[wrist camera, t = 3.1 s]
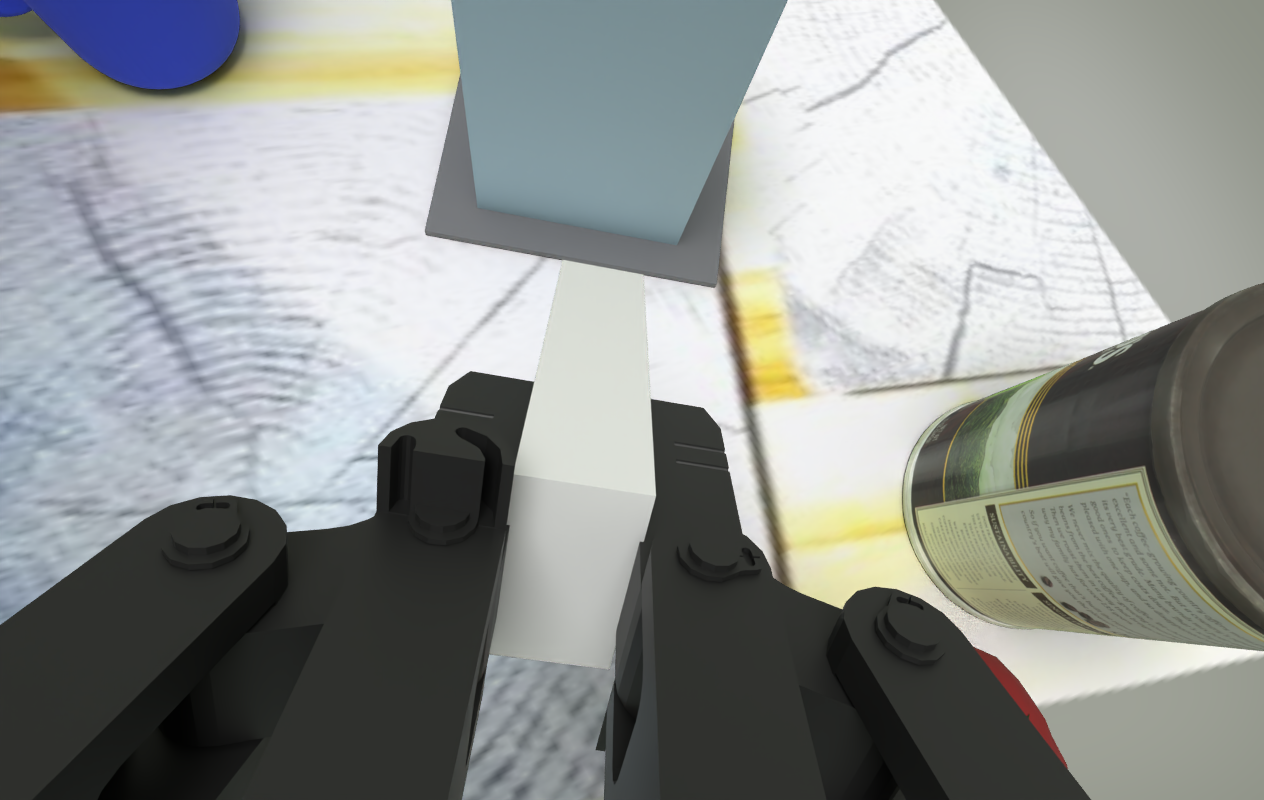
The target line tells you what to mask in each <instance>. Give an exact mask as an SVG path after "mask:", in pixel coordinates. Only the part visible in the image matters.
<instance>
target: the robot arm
mask: <svg viewBox="0 0 1264 800" xmlns="http://www.w3.org/2000/svg"><path fill="white" fill-rule="evenodd" d="M724 451H725V448H724V443H723V438H722V433H721V429H720V427H719V426H718V425H717V424H716V422H715V421H714V420H713V419H712V418H711V416H710V415H709V414H708V413H707V412H706V410H705V409H704V408H701V407H695V406H689V405H683V404H677V403H671V402H665V401H659V400H653V399H651V398H650V380H649V362H648V344H647V326H646V308H645V290H644V275H642V274H637V273H631V272H626V271H621V270H615V269H610V268H605V267H599V266H594V265H589V264H583V263H578V262H572V261H567V260H562V264H561V269H560V273H559V277H558V282H557V286H556V290H555V295H554V299H553V303H552V308H551V312H550V316H549V321H548V325H547V329H546V334H545V338H544V342H543V347H542V351H541V355H540V360H539V364H538V368H537V372H536V377H535V381H534V382H532V381H526V380H520V379H514V378H508V377H502V376H496V375H490V374H484V373H478V372H472V371H470V372H469V373H467V374H466V375H464V376H463V377H461V378H460V379H458V380H457V381H455V382H454V383H452V384H451V385H450V386H449V387H448V389H447V391H446V394H445V396H444V398H443V400H442V403H441V405H440V409H439V410H438V412H437V414H436V416H435V419H430V420H424V421H418V422H412V423H409V424H407V425H405V426H402V427H400V428H398V429H396V430H394V431H391V432H390V433H389V434H388V435H387V436H386V437H385V438H384V440H383V441H382V442H381V443H380V444H379V445H378V475H377V511H376V514H375V516H374V517H372V518H370V519H368V520H365V521H362V522H359V523H356V524H353V525H350V526H344V527H337V528H331V529H321V530H308V531H296V532H287V527H286V524H285V523H284V521H283V520H282V518H281V517H280V515H279V514H278V512H277V511H276V510H274V509H273V508H271V507H269V506H267V505H265V504H263V503H261V502H259V501H257V500H254V499H248V498H242V497H236V496H231V495H229V496H213V497H199V498H196V499H192V500H188V501H185V502H181V503H178V504H174V505H170V506H168V507H167V508H165V509H163V510H161V511H159V512H157V513H156V514H154V515H152V516H150V517H148V518H146V519H144V520H143V521H142V522H140V523H139V524H138V525H136V526H135V527H133V528H132V529H131V530H129V531H128V532H127V533H125V534H124V535H123V536H121V537H120V538H118V539H117V540H116V541H114V542H113V543H112V544H110V545H109V546H108V547H106V548H105V549H103V550H102V551H101V552H99V553H98V554H97V555H95V556H94V557H93V558H91V559H90V560H88V561H87V562H86V563H84V564H83V565H82V566H80V567H79V568H78V569H76V570H75V571H73V572H72V573H71V574H69V575H68V576H67V577H65V578H64V579H62V580H61V581H60V582H58V583H57V584H56V585H54V586H53V587H52V588H50V589H49V590H47V591H46V592H45V593H43V594H42V595H41V596H39V597H38V598H37V599H35V600H34V601H32V602H31V603H30V604H28V605H27V606H26V607H24V608H23V609H22V610H20V611H19V612H17V613H16V614H15V615H13V616H12V617H11V618H9V619H8V620H7V621H5V622H4V623H2V624H1V625H0V800H462V796H463V791H464V786H465V781H466V776H467V771H468V765H469V760H470V755H471V750H472V745H473V740H474V735H475V730H476V725H477V720H478V715H479V710H480V705H481V700H482V695H483V688H484V681H485V674H486V667H487V662H488V657H489V654H491V655H499V656H506V657H514V658H522V659H530V660H538V661H545V662H553V663H561V664H569V665H576V666H584V667H592V668H600V669H608V670H610V666H611V662H612V658H613V655H614V651H615V647H616V662H615V681H614V685H613V688H612V692H611V695H610V699H609V703H608V706H607V710H606V713H605V717H604V721H603V724H602V728H601V732H600V735H599V739H598V743H597V747H596V750H600V751H605V749H606V753H605V786H604V800H1091V799H1090V798H1089V797H1088V795H1087V794H1086V793H1085V791H1084V790H1083V789H1082V787H1081V786H1080V785H1079V784H1078V782H1077V781H1076V780H1075V778H1074V777H1073V776H1072V774H1071V773H1070V772H1069V771H1068V769H1067V768H1066V767H1065V765H1064V764H1063V763H1062V761H1061V760H1060V759H1059V758H1058V756H1057V755H1056V754H1055V752H1054V751H1053V750H1052V749H1051V747H1050V746H1049V745H1048V743H1047V742H1046V741H1045V739H1044V738H1043V737H1042V736H1041V734H1040V733H1039V732H1038V730H1037V729H1036V728H1035V726H1034V725H1033V724H1032V723H1031V721H1030V720H1029V719H1028V717H1027V716H1026V715H1025V714H1024V712H1023V711H1022V710H1021V708H1020V707H1019V706H1018V704H1017V703H1016V702H1015V701H1014V699H1013V698H1012V697H1011V695H1010V694H1009V693H1008V691H1007V690H1006V689H1005V688H1004V686H1003V685H1002V684H1001V682H1000V681H999V680H998V679H997V677H996V676H995V675H994V673H993V672H992V671H991V669H990V668H989V667H988V666H987V664H986V663H985V662H984V660H983V659H982V658H981V656H980V655H979V654H978V653H977V651H976V650H975V649H974V647H973V646H972V645H971V644H970V642H969V641H968V640H967V638H966V637H965V636H964V634H963V633H962V632H961V631H960V630H959V629H958V628H957V627H956V626H955V625H954V624H953V623H952V622H951V621H950V620H949V619H948V618H947V617H946V616H945V615H944V614H943V613H942V612H941V611H939V610H937V609H936V608H934V607H933V606H931V605H930V604H928V603H927V602H925V601H924V600H922V599H921V598H918V597H915V596H913V595H910V594H907V593H905V592H902V591H900V590H897V589H889V588H880V587H872V588H868V589H864V590H860V591H857V592H856V593H855V594H854V595H853V596H852V597H851V598H850V599H849V600H848V601H847V602H846V603H845V605H844V607H843V610H842V609H839V608H837V607H834V606H832V605H829V604H827V603H824V602H822V601H819V600H816V599H814V598H811V597H809V596H806V595H804V594H801V593H799V592H797V591H795V590H793V589H791V588H789V587H787V586H785V585H783V584H782V583H780V582H779V581H777V580H776V579H774V578H773V576H772V571H771V568H770V566H769V564H768V562H767V560H766V558H765V556H764V554H763V552H762V551H761V550H760V549H759V548H758V547H757V546H756V545H755V544H754V543H753V542H752V541H751V540H750V539H749V538H748V537H747V536H745V535H743V534H742V529H741V525H740V520H739V515H738V510H737V505H736V501H735V496H734V491H733V486H732V481H731V477H730V472H728V468H729V467H728V462H727V457H726V454H724Z"/></svg>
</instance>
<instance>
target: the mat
mask: <svg viewBox="0 0 1264 800" xmlns="http://www.w3.org/2000/svg"><path fill="white" fill-rule="evenodd" d="M733 127H734V120H733V122H732V125H731V127H730V129H729V131H728V133H727V136H726V138H725V140H724V142H723V144H722V147H721V149H720V151H719V153H718V156H717V158H716V160H715V162H714V164H713V167H712V169H711V171H710V173H709V175H708V178H707V180H706V182H705V184H704V186H703V189H702V191H701V193H700V195H699V198H698V200H697V202H696V204H695V206H694V209H693V211H692V213H691V215H690V217H689V220H688V222H687V224H686V226H685V228H684V231H683V233H682V235H681V237H680V240H679V242H678V244H677V245H672V244H667V243H662V242H656V241H651V240H646V239H640V238H635V237H630V236H624V235H619V234H614V233H608V232H603V231H598V230H592V229H587V228H582V227H576V226H571V225H566V224H560V223H555V222H550V221H544V220H539V219H534V218H528V217H523V216H518V215H513V214H507V213H502V212H497V211H491V210H486V209H481V208H477V200H476V192H475V184H474V176H473V168H472V160H471V152H470V144H469V136H468V128H467V121H466V113H465V105H464V97H463V89H462V81H461V73H460V78H459V82H458V87H457V91H456V96H455V100H454V104H453V109H452V113H451V118H450V122H449V126H448V131H447V135H446V140H445V144H444V148H443V153H442V157H441V162H440V166H439V171H438V175H437V179H436V184H435V188H434V193H433V197H432V201H431V206H430V210H429V215H428V219H427V223H426V228H425V233H426V235H429V236H435V237H440V238H446V239H451V240H457V241H462V242H468V243H473V244H479V245H484V246H490V247H495V248H501V249H506V250H512V251H517V252H523V253H528V254H534V255H539V256H545V257H550V258H555V259H561V260H567V261H572V262H578V263H583V264H589V265H594V266H599V267H605V268H610V269H616V270H621V271H627V272H632V273H638V274H643V275H649V276H654V277H660V278H665V279H671V280H676V281H682V282H687V283H692V284H698V285H703V286H709V287H715V286H716V284H717V276H718V266H719V257H720V248H721V239H722V229H723V220H724V211H725V201H726V192H727V183H728V173H729V164H730V155H731V145H732V136H733Z"/></svg>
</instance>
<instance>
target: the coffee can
mask: <svg viewBox="0 0 1264 800" xmlns="http://www.w3.org/2000/svg"><path fill="white" fill-rule="evenodd" d="M903 513H904V520H905V524H906V528H907V532H908V535H909V538H910V541H911V544H912V546H913V549H914V551H915V553H916V555H917V557H918V559H919V561H920V563H921V564H922V566H923V568H924V570H925V571H926V573H927V574H928V575H929V577H930V578H931V579H932V581H933V582H934V583H935V584H936V586H937V587H938V588H939V589H940V590H941V591H942V592H943V593H944V595H945V596H946V597H947V598H949V599H950V600H951V601H952V602H954V603H955V604H956V605H958V606H959V607H961V608H962V609H964V610H965V611H967V612H968V613H970V614H972V615H973V616H975V617H977V618H980V619H982V620H984V621H986V622H988V623H991V624H995V625H999V626H1003V627H1008V628H1016V629H1036V628H1037V629H1047V630H1057V631H1067V632H1077V633H1087V634H1097V635H1108V636H1118V637H1128V638H1138V639H1147V640H1158V641H1168V642H1178V643H1187V644H1197V645H1207V646H1217V647H1227V648H1237V649H1247V650H1257V651H1264V283H1262V284H1258V285H1255V286H1253V287H1250V288H1247V289H1244V290H1242V291H1239V292H1237V293H1234V294H1232V295H1230V296H1228V297H1225V298H1223V299H1222V300H1220V301H1218V302H1216V303H1214V304H1213V305H1211V306H1210V307H1208V308H1206V309H1205V310H1203V311H1200V312H1197V313H1195V314H1192V315H1191V316H1188V317H1185V318H1183V319H1180V320H1178V321H1175V322H1172V323H1170V324H1168V325H1165V326H1163V327H1160V328H1158V329H1156V330H1153V331H1150V332H1147V333H1145V334H1143V335H1141V336H1138V337H1135V338H1132V339H1130V340H1128V341H1125V342H1123V343H1120V344H1118V345H1115V346H1113V347H1110V348H1108V349H1105V350H1103V351H1100V352H1098V353H1096V354H1093V355H1091V356H1088V357H1086V358H1083V359H1081V360H1079V361H1076V362H1074V363H1071V364H1069V365H1066V366H1064V367H1061V368H1059V369H1056V370H1054V371H1051V372H1049V373H1047V374H1044V375H1042V376H1039V377H1036V378H1034V379H1031V380H1029V381H1026V382H1024V383H1021V384H1019V385H1016V386H1014V387H1011V388H1009V389H1006V390H1004V391H1000V392H998V393H996V394H993V395H991V396H988V397H986V398H983V399H980V400H978V401H973V402H969V403H966V404H963V405H961V406H958V407H956V408H954V409H952V410H950V411H949V412H947V413H945V414H944V415H942V416H941V417H940V418H938V419H937V420H936V421H935V422H933V423H932V424H931V425H930V426H929V428H928V429H926V430H925V432H924V433H923V434H922V436H921V437H920V439H919V441H918V442H917V444H916V446H915V447H914V449H913V451H912V454H911V456H910V459H909V462H908V465H907V469H906V472H905V477H904V485H903Z"/></svg>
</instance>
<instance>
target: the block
mask: <svg viewBox="0 0 1264 800" xmlns="http://www.w3.org/2000/svg"><path fill="white" fill-rule="evenodd" d="M787 1H788V0H451V2H452V10H453V18H454V26H455V34H456V41H457V49H458V57H459V65H460V73H461V81H462V89H463V97H464V105H465V113H466V121H467V128H468V136H469V144H470V152H471V160H472V168H473V176H474V184H475V192H476V200H477V208H481V209H486V210H491V211H497V212H502V213H507V214H513V215H518V216H523V217H528V218H534V219H539V220H544V221H550V222H555V223H560V224H566V225H571V226H576V227H582V228H587V229H592V230H598V231H603V232H608V233H614V234H619V235H624V236H630V237H635V238H640V239H646V240H651V241H656V242H662V243H667V244H672V245H677V244H678V242H679V240H680V237H681V235H682V233H683V231H684V228H685V226H686V224H687V222H688V220H689V217H690V215H691V213H692V211H693V209H694V206H695V204H696V202H697V200H698V198H699V195H700V193H701V191H702V189H703V186H704V184H705V182H706V180H707V178H708V175H709V173H710V171H711V169H712V167H713V164H714V162H715V160H716V158H717V156H718V153H719V151H720V149H721V147H722V144H723V142H724V140H725V138H726V136H727V133H728V131H729V129H730V127H731V125H732V122H733V120H734V118H735V116H736V114H737V111H738V109H739V107H740V105H741V102H742V100H743V98H744V96H745V94H746V91H747V89H748V87H749V85H750V83H751V80H752V78H753V76H754V74H755V72H756V69H757V67H758V65H759V63H760V60H761V58H762V56H763V54H764V52H765V49H766V47H767V45H768V43H769V41H770V38H771V36H772V34H773V32H774V30H775V27H776V25H777V23H778V21H779V18H780V16H781V14H782V12H783V10H784V7H785V5H786V3H787Z"/></svg>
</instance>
